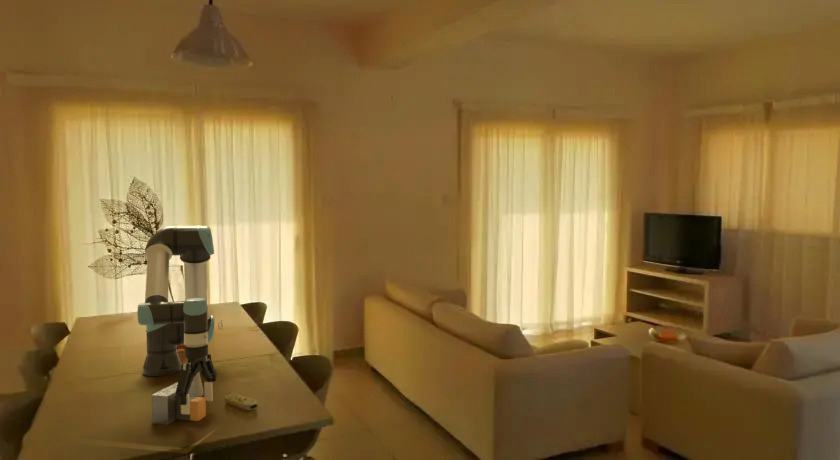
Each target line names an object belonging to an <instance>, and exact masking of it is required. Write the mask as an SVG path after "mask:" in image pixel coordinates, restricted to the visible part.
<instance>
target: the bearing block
mask: <svg viewBox="0 0 840 460" xmlns="http://www.w3.org/2000/svg"><path fill="white" fill-rule="evenodd" d="M177 384H178V381H177V382H175V383H172V384H171V385H170V386H167V387H164V388H162V389H161V390H158V391H157V392H155V393H153V394H150V395H151V424H157V425H166V426H167V425H168V426H169V425H170V424H172V423H173V422H175V421H176V419H175V395H177V394H176V388H177ZM179 391H180V390H179ZM188 394H189V396H194V397H195V393H194V383H193V382H192V384H191V386H190V389H189V391H188Z"/></svg>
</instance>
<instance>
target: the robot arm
mask: <svg viewBox="0 0 840 460" xmlns="http://www.w3.org/2000/svg"><path fill="white" fill-rule="evenodd" d="M213 241H214V240H213V235H212V230H211V228H210V227H209V226H207V225H199V224H197V225H179V226H178V225H175V226H174V225H169V226H165V227H162V228H161V229H159V230H157V231H155V233H153V234H152V235H151V237H150V238H149V240H148V241H147V242H146V245H145V249H144V257H145V259H146V260H147V262H146V263H147V264H146V275H145V276H146V279H145V294H144V295H145V296H144V302H143V303H142V302H141V303H139V304H138V305H137V311H136V313H137V323H138V324H139V325H140V326H146V329H145V333H146V355H145V356H146V357H145V360H144V361H143V362H144V364H143V366H142V375H144V376H147V377H148V376H149V377H163V376H169V375H174V374H176V373H178V372H180V373H179V376H178V377H179V378H178V381H177V382H178V384H177V388H176V394H177V395H180V400H181V401H180V403H181V414H188V415H189V414H190V398H189V394H188V391H189V389H190V386H191V384H192V381H193V378H194V376H196V374H197V373H198V372H199V373H200V375H202V377H203V378H204V380H205V381H204V382H203V383H204V385H203V386H204V388H203V390H204V397H205V400H206V401H207V402H212V401H213V400H214V397H213V396H214V388H213V387H214V385H213V383H214V382H216V380H217V373H216V370H215V366H214V364H213V361H212V360H213V359H212V355H211V354H209V345H208V343H210V342H212V340H213V338H214V332H215V315H212V313H211V311H210V310H209V309H208V308H209V307H208V279H207V278H208V272H207V271H208V266H207V265H208V264H207V262H209V260H211V256H212V255H215V248H214V247H215V246H214V242H213ZM172 256H174V257H175V256H177V257H178V256H179V259H180V261H181V262H182V263H183V273H184V277H183V278H184V300H181V301H178V300H177V301H169V284H170V283H169V281H170V260H171V259H172ZM178 346H184V347H183V349H184V350H183V351H184V353H183V354H184V357H185V358H186V359H187V362H185V363H182V362H181V359H180V355H179V353H178ZM179 390H180V391H179Z"/></svg>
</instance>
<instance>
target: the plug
mask: <svg viewBox="0 0 840 460" xmlns="http://www.w3.org/2000/svg"><path fill="white" fill-rule="evenodd" d="M189 398H190V414H189V415H188V414H181V403H180V401H181V400H180V395H175V420H185V421H195V422H198V421H200V420H202V419H203V418H205V417H206V416H207V414H206V413H207V410H206V409H207V407H206V406H207V405H206V404H207V403H206V400H205V396H202V397H194V396H189Z"/></svg>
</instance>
